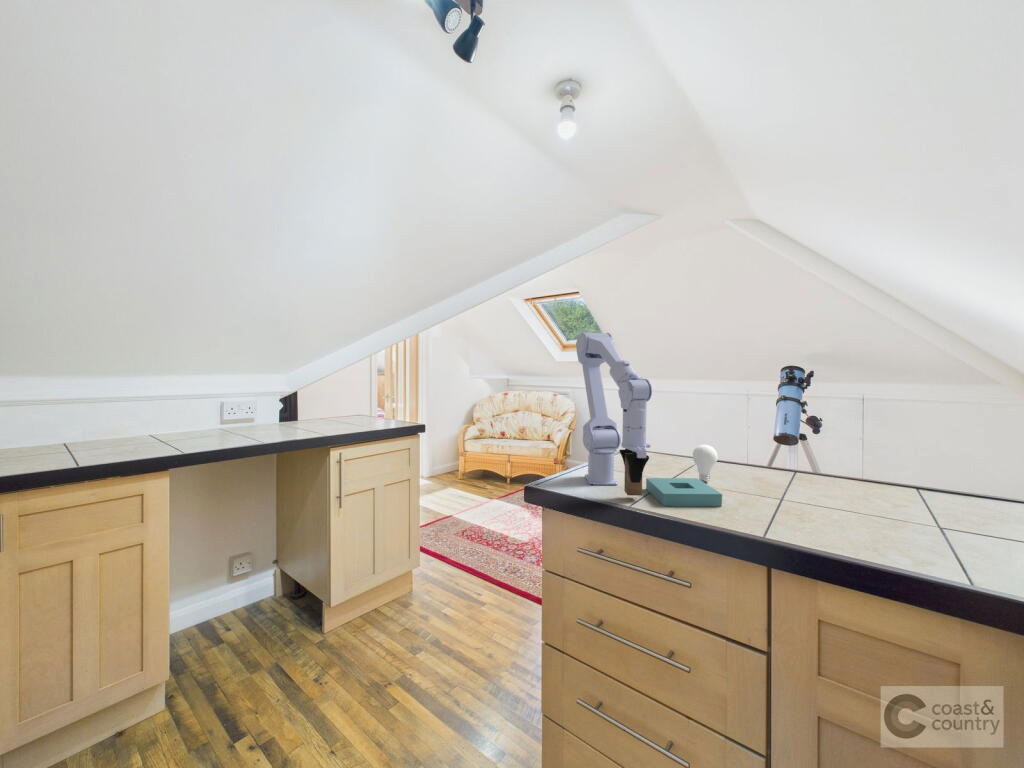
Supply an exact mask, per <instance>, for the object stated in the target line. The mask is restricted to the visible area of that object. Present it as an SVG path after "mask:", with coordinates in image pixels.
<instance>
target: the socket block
mask: <svg viewBox="0 0 1024 768" xmlns="http://www.w3.org/2000/svg"><path fill="white" fill-rule="evenodd" d="M645 479H646V480H645V484H646V485H645V486H646V487H645V489H646V490H647V491H648V493H650V494H651V496H653V497H654V498H655V499H656V501H658V502H659V503H660V504H661V505H662V506H664V507H722V506H723V503H722V502H723V493H721V492H719V491H717V490H716V489H715V488H714V487H712V486H710V485H709V484H707V483H706V482H702V481H701V480H699V477H697V478H696V477H692V478H689V477H688V478H687V477H686V478H684V477H683V478H682V477H681V478H680V477H678V478H677V477H675V478H674V477H672V478H671V477H646V478H645Z"/></svg>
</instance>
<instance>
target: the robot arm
mask: <svg viewBox="0 0 1024 768" xmlns="http://www.w3.org/2000/svg"><path fill="white" fill-rule="evenodd" d="M575 349H576V350H575V351H576V353H577V354H576V355H577V361H578V363H579V364H581V366H582V373H583V379H584V386H585V391H586V392H585V393H586V397H587V405H588V411H589V417H590V419H588V421H586V423H585V424H584V425H583V426H582V443H583V446H584V448H585V449H586V451H588V456H587V457H588V458H587V460H588V461H587V466H588V467H587V473H586V474H584V477H585V479H586V480H587V483H589V485H591V484H593V485H598V486H599V485H601V486H602V485H606V486H607V485H608V486H609V485H610V486H611V485H613V486H615V485H617V486H618V482H617V480H616V479H615V452H616V453H617V450H618V449H619V447H620V446H621V448H623V449H619V454H620V456H621V458H622V461H623V465H624V467H625V457H626V459H627V462H628V466H629V473H630V480H631V482H632V483H640V481H641V477H642V478H643V473H644V470H645V467H646V465H647V463H648V461H650V456H649V455H648V454H647V448H648V449H649V448H651V444H650V443H646V442H647V441H646V439H647V402H648V401H649V400H651V398H652V394H653V388H652V384H651V382H650V381H649V380H648V379H647V378H643V377H640V375H638V374H637V372H636V371H635V369H634V368H633V367H632V365H631V364H630V362H629V361H628V360H624V359H622V358H621V356H620V355H619V353H618V350H617V349H616V348H615V338H614V337H613V335H612V333H610V332H605V333H603V332H584V331H581V332H580V333H579V334H578V336H577V338H576V344H575ZM604 363H606V364H607V365H608V366H609V376H611V378H612V379H613V382H615V384H616V386H617V387H618V391H617V392H618V396H619V400H620V408H621V409H622V433H621V432H620V431H619V428H618V425H617V422H616V421H615V420H613V419H612V418H610V416H608V409H607V404H606V398H605V392H604V391H605V390H604V387H603V386H604V385H603V380H602V379H603V378H602V374H601V368H600V367H601V365H602V364H604ZM621 434H622V436H621ZM625 453H633V454H625Z"/></svg>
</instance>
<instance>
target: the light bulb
mask: <svg viewBox="0 0 1024 768" xmlns="http://www.w3.org/2000/svg"><path fill="white" fill-rule="evenodd" d="M718 457H719V456H718V452H717V451H716V449H715V448H714V447H713V446H711V445H709V444H699V445H697V446H696V447H695V448H694V449H693V451H692V460H693V462H694V463H695V465H696V467H697V472H698V474H699V475H698V479H699V480H701V481H702V482H704V483H707V482H709V481H710V479H711V474H712V469H713V467H714V466H715V465H716V463H717V461H718Z"/></svg>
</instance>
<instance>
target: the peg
mask: <svg viewBox="0 0 1024 768" xmlns="http://www.w3.org/2000/svg"><path fill="white" fill-rule="evenodd" d="M625 454H633V453H625ZM623 491H624V493H625V494H626V495H627V496H640V497H642V495H643V476H642V477H641V481H640V483H632V482H631V480H630V473H629V466H628V462H627V459H626V457H625V466H624V490H623Z"/></svg>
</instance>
